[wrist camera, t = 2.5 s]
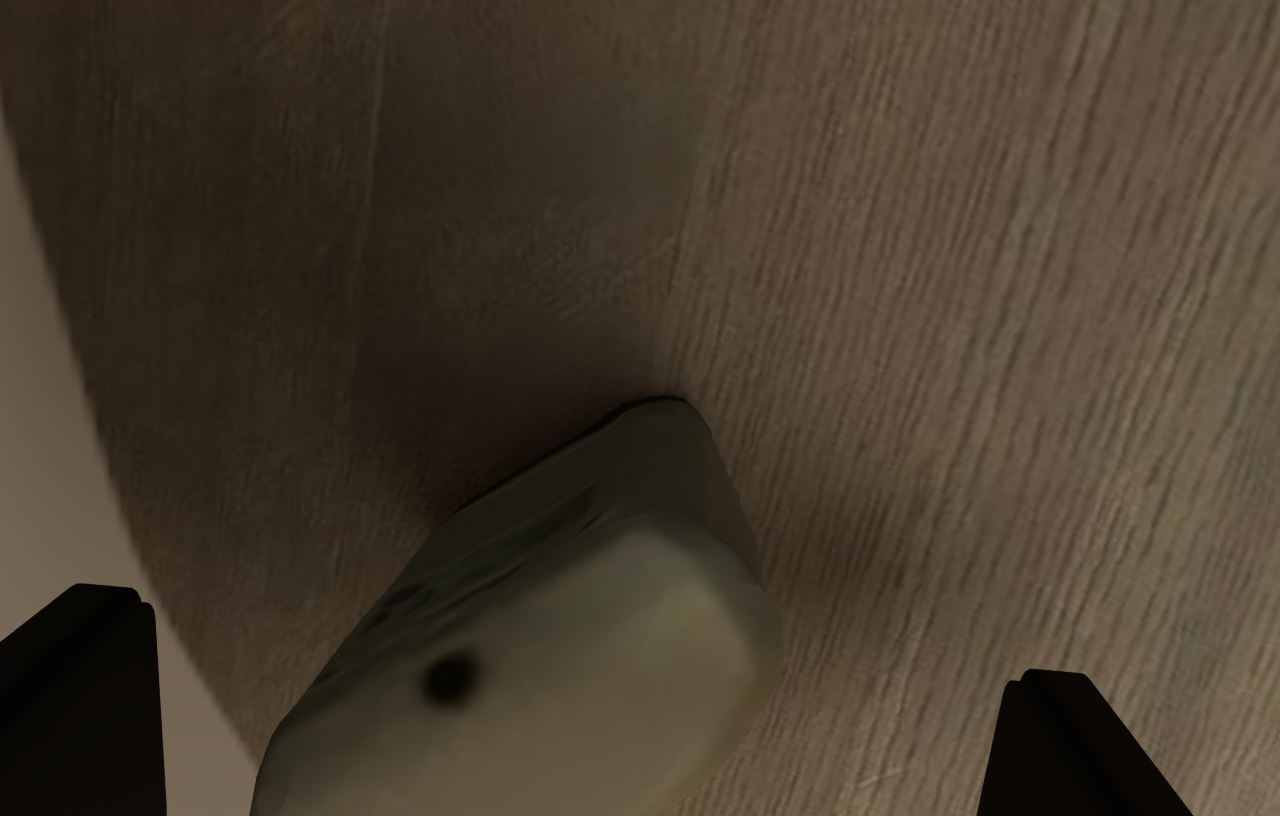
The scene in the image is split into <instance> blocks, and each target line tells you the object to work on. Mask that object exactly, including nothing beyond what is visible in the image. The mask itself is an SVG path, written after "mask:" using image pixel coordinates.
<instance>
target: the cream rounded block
mask: <svg viewBox="0 0 1280 816" xmlns="http://www.w3.org/2000/svg"><path fill="white" fill-rule="evenodd" d="M783 655H784V646H783V638H782V631H781V623H780V621H779V618H778V616H777V614H776V612H775V610H774V608H773V607H772V605H771V603H770V601H769V600H768V598H767V596H766V595H765V589H764V580H763V574H762V568H761V562H760V557H759V551H758V547H757V543H756V540H755V536H754V533H753V530H752V528H751V526H750V524H749V522H748V519H747V517H746V515H745V513H744V511H743V507H742V504H741V501H740V498H739V496H738V494H737V492H736V491H735V489H734V486H733V484H732V482H731V480H730V478H729V476H728V473H727V471H726V468H725V466H724V464H723V461H722V459H721V457H720V455H719V453H718V451H717V449H716V446H715V444H714V442H713V439H712V435H711V431H710V429H709V427H708V426H707V424H706V423H705V421H704V420H703V418H702V417H701V415H700V414H699V413H698V412H697V410H696V409H695V408H694V407H693V406H692V405H691V404H690V403H688V402H687V401H686V400H685V399H682V398H678V397H673V396H658V397H647V398H643V399H639V400H634V401H629V402H624V403H622V404H621V405H620V406H618V407H617V408H616V409H614V410H613V411H611V412H609V413H608V414H607V415H605V416H603V417H602V418H601V419H600V420H598V421H597V422H596V423H595V424H593V425H592V426H590V427H588V428H587V429H585V430H584V431H583V432H581V433H580V434H579V435H576V436H575V437H573V438H571V439H569V440H568V441H566V442H564V443H563V444H561V445H559V446H558V447H556V448H554V449H553V450H551V451H549V452H547V453H545V454H544V455H542V456H541V457H539V458H537V459H536V460H535V461H533V462H532V463H529V464H527V465H526V466H524V467H522V468H520V469H519V470H517V471H516V472H514V473H512V474H511V475H509V476H508V477H506V478H505V479H503V480H501V481H500V482H498V483H497V484H495V485H494V486H492V487H491V488H489V489H487V490H486V491H484V492H482V493H480V494H479V495H477V496H475V497H474V498H472V499H471V500H469V501H468V502H466V503H465V504H463V505H462V506H461V507H460V508H458V509H457V510H456V511H455V513H454V514H453V515H452V516H451V517H450V518H449V519H448V520H447V521H446V522H444V523H443V524H442V525H441V526H440V527H439V528H437V529H436V530H435V531H434V532H433V533H432V534H431V535H430V536H429V537H428V538H427V539H426V540H425V542H424V543H423V544H422V545H421V547H420V548H419V549H418V551H417V552H416V553H415V555H414V556H413V557H412V558H411V560H410V561H409V562H408V563H407V565H406V566H405V568H404V569H403V570H402V572H401V573H400V574H399V576H398V577H397V579H396V580H395V581H394V582H393V584H392V585H391V586H390V587H389V588H388V589H387V591H386V592H385V593H384V594H383V595H382V596H381V597H380V598H379V600H378V601H377V602H376V603H375V604H374V606H373V607H372V608H371V609H370V610H369V611H368V612H367V613H366V614H365V616H364V617H363V618H362V619H361V621H360V622H359V623H358V624H357V625H356V627H355V628H354V629H353V630H352V631H351V633H350V634H349V635H348V636H347V637H346V638H345V640H344V641H343V642H342V644H341V645H340V646H339V648H338V649H337V651H336V652H335V654H334V655H333V656H332V657H331V659H330V660H329V661H328V663H327V664H326V665H325V667H324V668H323V669H322V670H321V672H320V673H319V675H318V676H317V677H316V679H315V680H314V681H313V683H312V684H311V685H310V687H309V688H308V689H307V690H306V692H305V693H304V694H303V696H302V697H301V698H300V700H299V701H298V702H297V704H296V705H295V706H294V707H293V708H292V709H291V711H290V712H289V713H288V714H287V715H286V716H285V717H284V718H283V720H282V721H281V722H280V723H279V725H278V727H277V728H276V730H275V732H274V733H273V735H272V737H271V738H270V741H269V744H268V747H267V750H266V753H265V755H264V758H263V761H262V764H261V766H260V769H259V772H258V774H257V777H256V783H255V788H254V794H253V800H252V805H251V810H250V815H249V816H661V815H663V814H665V813H666V812H668V811H669V810H671V809H672V808H673V807H675V806H676V805H677V804H679V803H680V802H681V801H683V800H684V799H685V798H687V797H688V796H689V795H690V794H691V793H693V792H694V791H695V790H696V789H697V788H698V787H699V786H701V785H702V784H703V783H704V782H705V781H706V780H707V779H708V778H709V777H710V776H711V775H712V774H713V773H714V772H715V771H716V770H717V769H718V768H719V767H720V766H721V765H722V764H723V763H724V762H725V761H726V760H727V759H728V757H729V756H730V755H731V754H732V752H733V751H734V750H735V748H736V747H737V746H738V745H739V743H740V742H741V740H742V739H743V737H744V736H745V734H746V733H747V732H748V730H749V729H750V727H751V726H752V724H753V723H754V721H755V720H756V718H757V717H758V715H759V714H760V712H761V711H762V709H763V708H764V706H765V705H766V703H767V702H768V700H769V698H770V695H771V693H772V691H773V689H774V686H775V684H776V682H777V680H778V677H779V673H780V668H781V664H782V660H783Z"/></svg>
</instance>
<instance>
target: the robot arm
mask: <svg viewBox="0 0 1280 816" xmlns="http://www.w3.org/2000/svg"><path fill="white" fill-rule="evenodd" d="M166 804H167V803H166V788H165V770H164V754H163V738H162V720H161V704H160V687H159V670H158V655H157V637H156V620H155V613H154V609H153V607H152V605H150V604H149V603H146V602H141V598H140V596H139V594H138V592H137V591H136V590H134V589H133V588H128V587H117V586H106V585H95V584H83V583H82V584H81V583H79V584H75V585H73V586H71V587H70V588H69V589H67V590H66V591H65V592H63V593H62V594H61V595H60V596H58V597H57V598H56V599H54V600H53V601H52V602H51V603H50V604H48V605H47V606H46V607H44V608H43V609H42V610H40V611H39V612H38V613H37V614H35V615H34V616H33V617H31V618H30V619H29V620H28V621H26V622H25V623H24V624H23V625H21V626H20V627H19V628H17V629H16V630H15V631H14V632H13V633H11V634H10V635H9V636H7V637H6V638H5V639H4V640H2V641H1V642H0V816H166V814H167V805H166ZM976 816H1193V815H1192V813H1191V812H1190V811H1189V809H1188V808H1187V807H1186V805H1185V804H1184V803H1183V801H1182V800H1181V799H1180V797H1179V796H1178V795H1177V793H1176V792H1175V791H1174V790H1173V788H1172V787H1171V786H1170V784H1169V783H1168V782H1167V780H1166V779H1165V778H1164V776H1163V775H1162V774H1161V772H1160V771H1159V770H1158V768H1157V767H1156V766H1155V765H1154V763H1153V762H1152V761H1151V759H1150V758H1149V757H1148V755H1147V754H1146V753H1145V751H1144V750H1143V749H1142V747H1141V746H1140V745H1139V743H1138V742H1137V741H1136V739H1135V738H1134V737H1133V736H1132V734H1131V733H1130V732H1129V730H1128V729H1127V728H1126V726H1125V725H1124V724H1123V722H1122V721H1121V720H1120V718H1119V717H1118V716H1117V714H1116V713H1115V712H1114V711H1113V709H1112V708H1111V707H1110V705H1109V704H1108V703H1107V701H1106V700H1105V699H1104V697H1103V696H1102V695H1101V693H1100V692H1099V691H1098V689H1097V688H1096V687H1095V686H1094V684H1093V683H1092V682H1091V680H1090V679H1089V678H1088V677H1087V676H1086V675H1085V674H1082V673H1074V672H1063V671H1052V670H1041V669H1028V670H1027V671H1025V673H1024V674H1023V676H1022V678H1021V680H1020V681H1014V680H1011V681H1009V682H1008V683H1007V685H1006V687H1005V689H1004V693H1003V696H1002V701H1001V706H1000V710H999V715H998V719H997V724H996V728H995V733H994V738H993V742H992V747H991V751H990V756H989V760H988V765H987V770H986V774H985V779H984V783H983V788H982V792H981V797H980V801H979V806H978V811H977V815H976Z"/></svg>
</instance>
